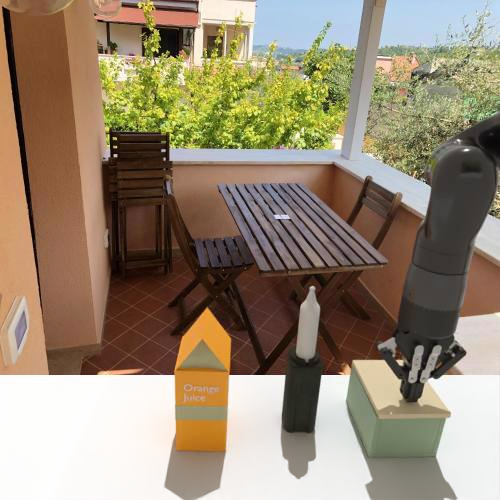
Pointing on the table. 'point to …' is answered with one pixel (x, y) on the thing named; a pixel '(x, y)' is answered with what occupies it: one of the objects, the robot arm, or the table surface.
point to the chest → (391, 428)
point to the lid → (396, 393)
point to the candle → (303, 372)
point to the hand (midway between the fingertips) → (409, 398)
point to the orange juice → (202, 386)
